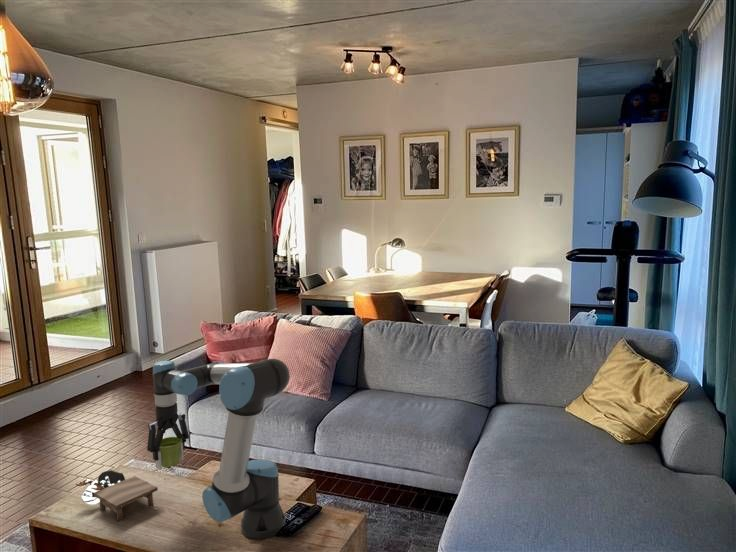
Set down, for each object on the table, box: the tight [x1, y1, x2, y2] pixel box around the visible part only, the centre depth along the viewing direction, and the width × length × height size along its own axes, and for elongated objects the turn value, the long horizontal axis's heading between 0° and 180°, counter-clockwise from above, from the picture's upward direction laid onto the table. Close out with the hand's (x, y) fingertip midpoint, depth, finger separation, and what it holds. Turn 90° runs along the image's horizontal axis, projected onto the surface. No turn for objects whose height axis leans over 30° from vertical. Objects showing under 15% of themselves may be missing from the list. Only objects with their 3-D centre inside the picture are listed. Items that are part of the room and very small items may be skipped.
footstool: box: [94, 475, 158, 522], centre depth 200 cm, size 16×16×7 cm
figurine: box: [75, 469, 126, 505], centre depth 209 cm, size 14×10×18 cm
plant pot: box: [159, 436, 182, 469], centre depth 196 cm, size 9×9×9 cm
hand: (169, 463), depth 197 cm, fingers closed on plant pot, 8 cm apart
